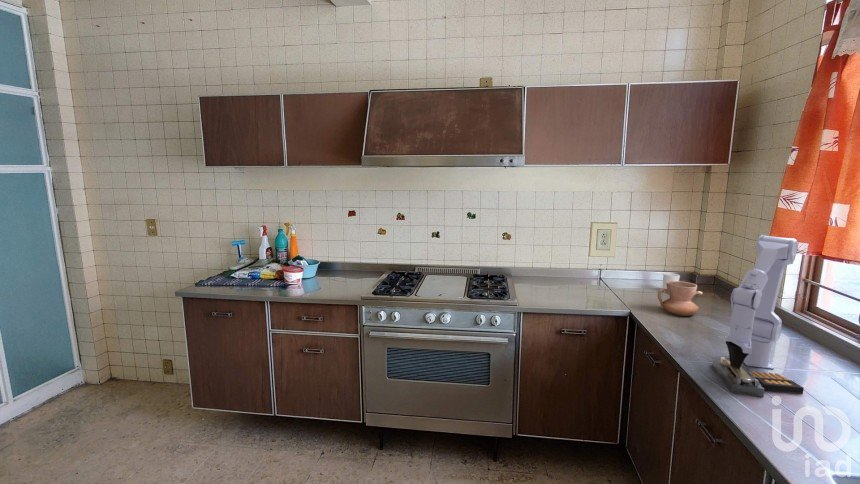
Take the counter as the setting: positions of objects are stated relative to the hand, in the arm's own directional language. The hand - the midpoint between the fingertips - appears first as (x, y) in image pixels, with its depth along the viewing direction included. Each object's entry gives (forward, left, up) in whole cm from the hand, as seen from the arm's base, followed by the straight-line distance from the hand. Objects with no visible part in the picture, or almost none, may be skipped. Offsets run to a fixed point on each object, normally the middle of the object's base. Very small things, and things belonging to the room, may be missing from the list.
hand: (735, 365), depth 136 cm
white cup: (-103, +1, -4) cm, 103 cm away
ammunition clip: (+6, +11, -3) cm, 13 cm away
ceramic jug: (-65, -3, -4) cm, 65 cm away
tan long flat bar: (+3, 0, -1) cm, 3 cm away
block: (+2, 0, -4) cm, 4 cm away
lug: (-4, 0, -1) cm, 4 cm away
